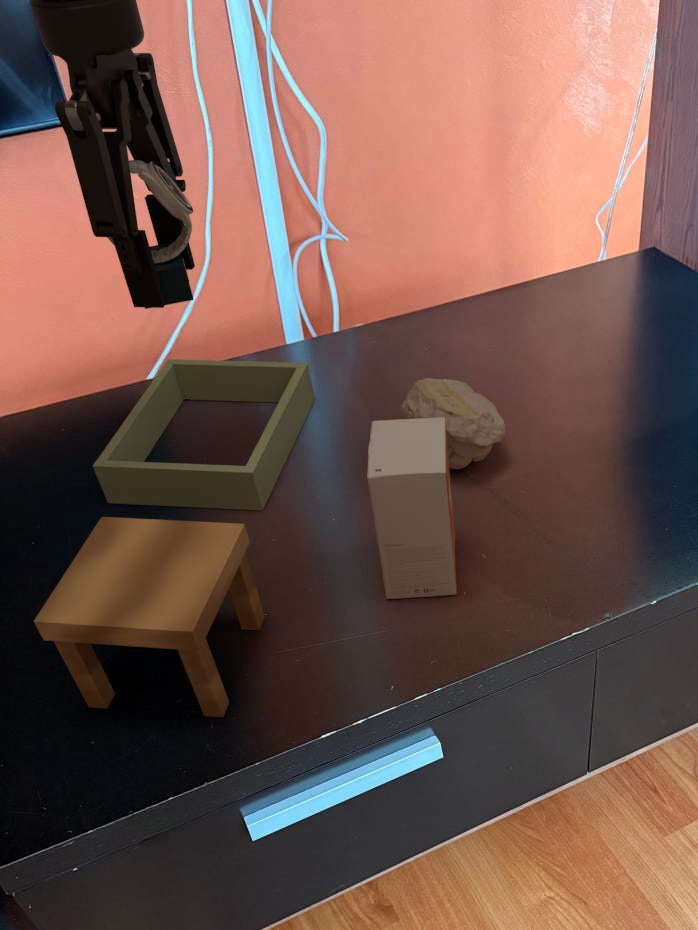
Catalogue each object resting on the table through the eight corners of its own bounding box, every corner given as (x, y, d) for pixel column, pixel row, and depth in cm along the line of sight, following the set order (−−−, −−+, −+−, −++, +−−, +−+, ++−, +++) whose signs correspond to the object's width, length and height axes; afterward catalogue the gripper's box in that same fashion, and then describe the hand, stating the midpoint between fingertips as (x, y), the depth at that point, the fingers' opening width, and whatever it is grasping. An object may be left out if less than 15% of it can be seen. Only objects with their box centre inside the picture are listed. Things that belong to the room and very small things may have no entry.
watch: (215, 295, 86) (183, 167, 78) (125, 312, 84) (82, 184, 77) (207, 270, 90) (176, 145, 82) (120, 286, 88) (80, 160, 80)
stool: (81, 711, 75) (32, 621, 68) (139, 606, 83) (101, 516, 76) (226, 722, 74) (192, 631, 66) (270, 614, 82) (244, 523, 75)
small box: (458, 596, 82) (447, 472, 73) (385, 600, 82) (364, 477, 73) (456, 536, 88) (446, 414, 78) (388, 540, 88) (369, 419, 79)
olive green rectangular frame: (107, 503, 94) (92, 465, 91) (179, 394, 108) (167, 358, 105) (262, 510, 92) (252, 472, 89) (315, 399, 106) (308, 362, 103)
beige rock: (442, 412, 103) (382, 464, 98) (426, 343, 97) (362, 395, 92) (533, 439, 97) (474, 496, 92) (522, 367, 91) (459, 424, 86)
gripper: (69, 21, 63) (165, 341, 79) (174, -45, 77) (238, 240, 93) (-36, 22, 64) (81, 338, 80) (87, -43, 77) (165, 239, 94)
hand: (165, 285), depth 87 cm, fingers closed on watch, 7 cm apart
